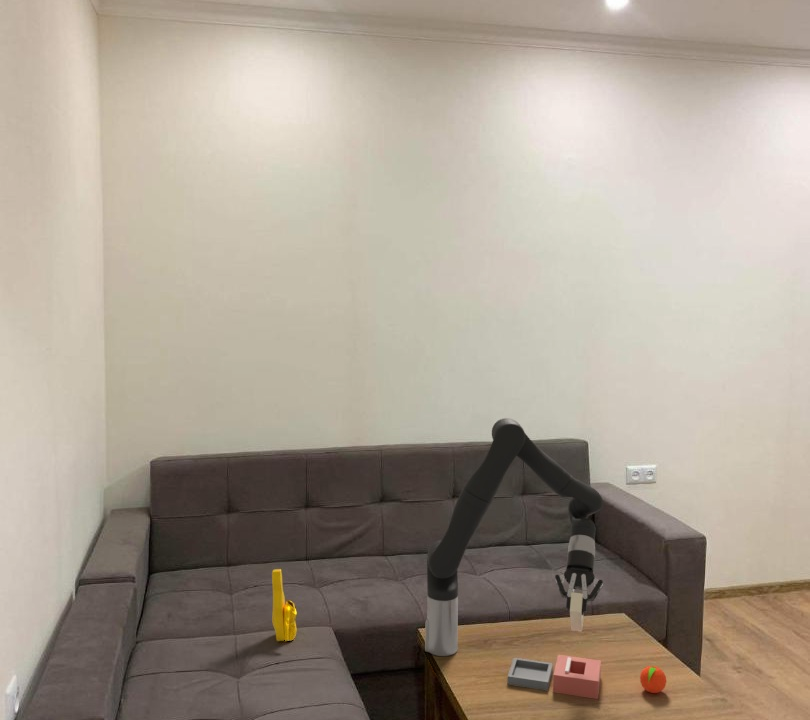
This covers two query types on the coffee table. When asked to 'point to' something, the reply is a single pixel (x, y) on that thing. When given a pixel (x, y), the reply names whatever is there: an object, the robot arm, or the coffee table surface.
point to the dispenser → (577, 676)
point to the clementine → (653, 679)
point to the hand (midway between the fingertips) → (576, 612)
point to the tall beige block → (576, 612)
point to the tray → (530, 673)
